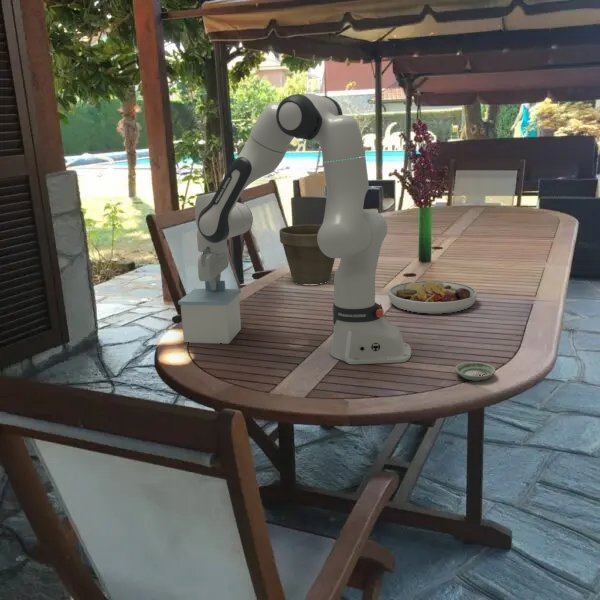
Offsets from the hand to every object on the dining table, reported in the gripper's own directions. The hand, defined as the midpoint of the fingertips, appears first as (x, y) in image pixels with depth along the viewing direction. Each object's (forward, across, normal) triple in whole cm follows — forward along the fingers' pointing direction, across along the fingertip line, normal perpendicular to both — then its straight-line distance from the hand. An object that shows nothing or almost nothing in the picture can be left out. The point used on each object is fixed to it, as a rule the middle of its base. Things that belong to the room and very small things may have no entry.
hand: (215, 288), depth 200 cm
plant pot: (+14, +64, -20) cm, 69 cm away
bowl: (+14, +34, -67) cm, 76 cm away
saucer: (+14, -32, -76) cm, 84 cm away
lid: (+2, -6, 0) cm, 6 cm away
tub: (+14, -6, 0) cm, 15 cm away
